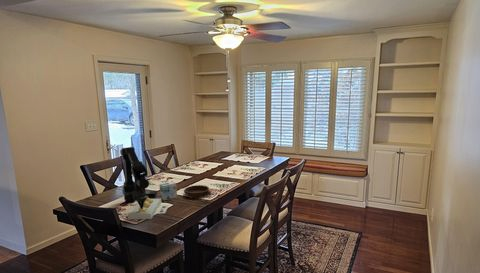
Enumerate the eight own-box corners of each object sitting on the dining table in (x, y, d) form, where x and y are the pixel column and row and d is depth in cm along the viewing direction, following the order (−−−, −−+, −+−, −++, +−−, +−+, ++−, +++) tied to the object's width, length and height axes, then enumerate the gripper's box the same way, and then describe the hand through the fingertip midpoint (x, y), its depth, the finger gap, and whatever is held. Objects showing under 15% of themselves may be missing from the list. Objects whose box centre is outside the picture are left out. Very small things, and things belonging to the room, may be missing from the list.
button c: (144, 205, 196) (144, 199, 195) (146, 203, 200) (146, 197, 199) (151, 205, 196) (150, 199, 195) (152, 202, 200) (152, 197, 200)
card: (156, 213, 186) (156, 212, 185) (161, 206, 197) (161, 205, 197) (164, 213, 186) (164, 212, 186) (168, 206, 198) (168, 205, 197)
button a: (138, 216, 182) (137, 210, 182) (140, 213, 186) (139, 207, 186) (145, 215, 182) (144, 209, 182) (146, 213, 187) (146, 207, 186)
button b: (141, 209, 189) (140, 203, 188) (143, 207, 193) (142, 201, 193) (148, 209, 189) (147, 203, 188) (149, 206, 193) (149, 201, 193)
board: (128, 219, 178) (127, 215, 178) (141, 203, 204) (140, 199, 204) (151, 218, 179) (150, 214, 178) (161, 202, 204) (161, 198, 204)
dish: (204, 200, 205) (204, 194, 204) (177, 197, 213) (177, 191, 212) (215, 192, 221) (215, 186, 220) (190, 190, 229) (189, 183, 228)
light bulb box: (163, 200, 208) (162, 186, 206) (160, 198, 213) (158, 183, 212) (177, 197, 214) (176, 182, 212) (173, 194, 220) (172, 180, 218)
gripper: (119, 189, 173) (122, 214, 176) (151, 188, 174) (153, 213, 176) (126, 183, 184) (128, 207, 187) (156, 182, 185) (158, 206, 187)
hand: (142, 208), depth 184 cm, fingers closed, pressing on button a
